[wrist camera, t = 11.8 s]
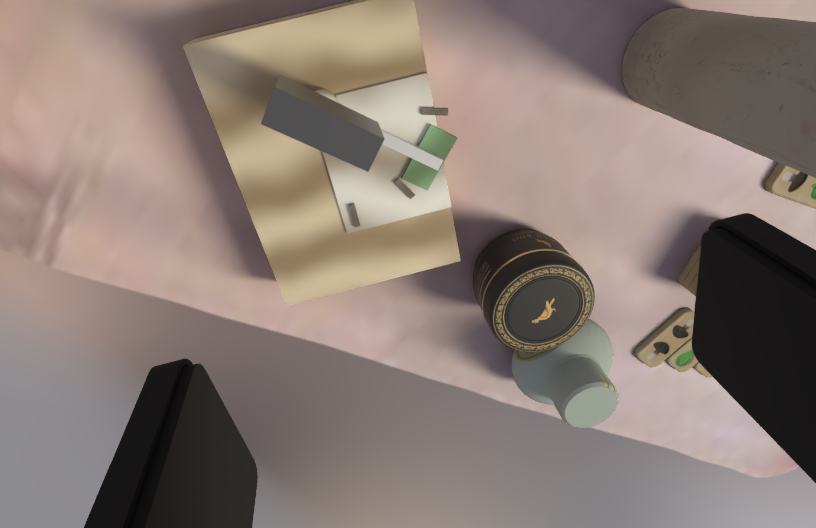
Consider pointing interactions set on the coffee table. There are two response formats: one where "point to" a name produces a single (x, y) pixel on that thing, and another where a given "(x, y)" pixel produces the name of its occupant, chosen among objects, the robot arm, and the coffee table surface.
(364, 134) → the peg
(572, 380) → the pale green rounded vessel
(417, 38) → the tan flat box
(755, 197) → the coffee table surface
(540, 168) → the coffee table surface
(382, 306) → the coffee table surface
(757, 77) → the thermos bottle
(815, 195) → the pile of dominoes
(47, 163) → the coffee table surface
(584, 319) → the jar
